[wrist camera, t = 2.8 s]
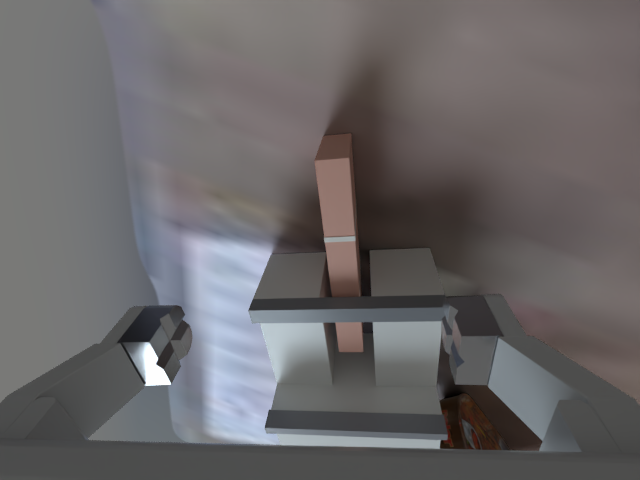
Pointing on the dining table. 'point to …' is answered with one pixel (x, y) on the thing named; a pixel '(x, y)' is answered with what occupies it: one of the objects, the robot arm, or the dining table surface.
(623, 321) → the dining table surface
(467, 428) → the tin
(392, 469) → the robot arm
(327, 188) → the brown block
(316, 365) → the dispenser
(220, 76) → the dining table surface
